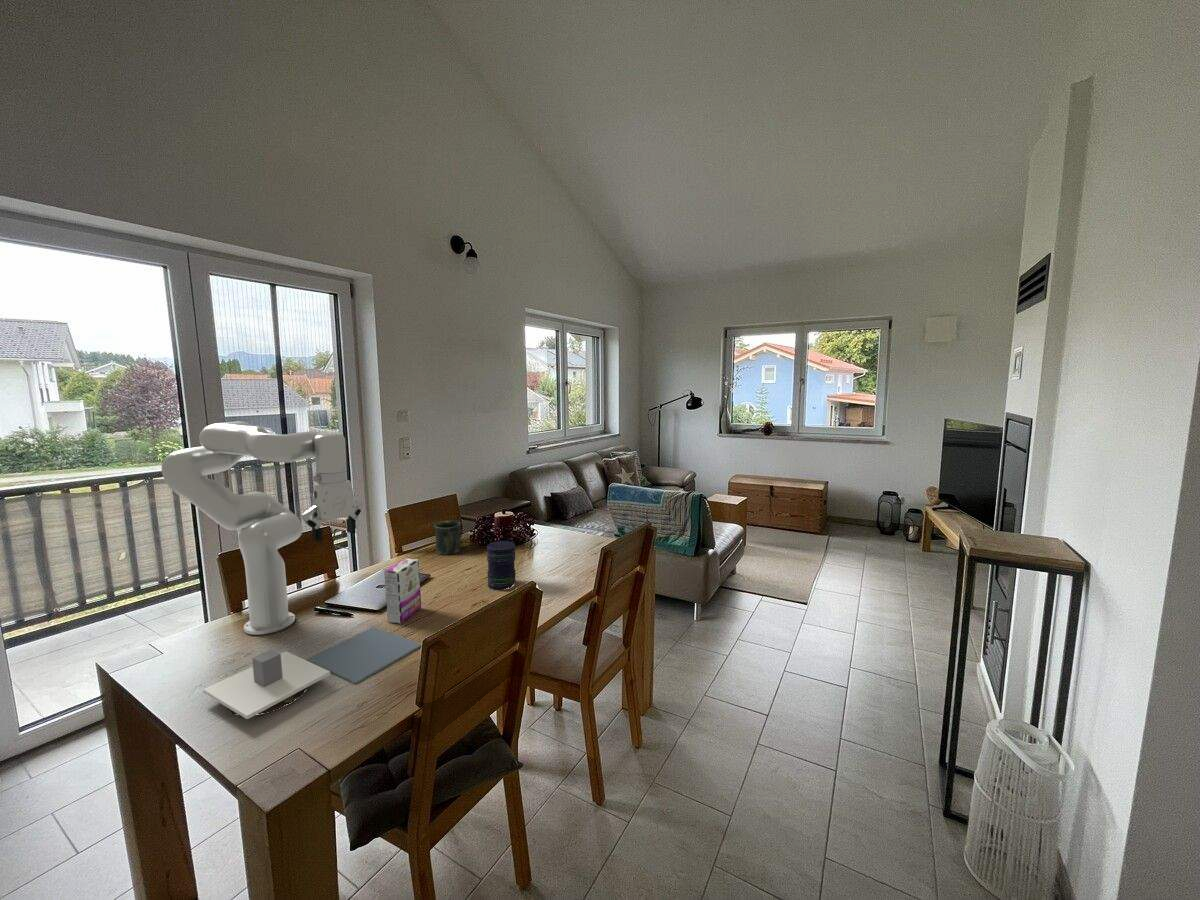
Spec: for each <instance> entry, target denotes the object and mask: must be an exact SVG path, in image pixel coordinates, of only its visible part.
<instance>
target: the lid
mask: <svg viewBox="0 0 1200 900" xmlns="http://www.w3.org/2000/svg"><path fill="white" fill-rule="evenodd" d="M251 661H252V666H250V667H249V668H246V669H244V670H241V671H240V672H238V673H236V674H233V675H231V676H229V677H227V678H225V679H223V680H220V681H218V682H216V683H214V684H212V685H209V686H207V687H205V688H203V689H202V693H203V694H205V695H206V696H208V697H209V698H211V699H212V700H214V701H217V702H218V703H219V704H221V705H223V706H224V707H226V708H227V707H228V708H229V709H231V710H233V711H234V712H236V713H237V714H239V715H241V716H242V717H243V719H246V720H249V719H252V717H256V716H255V715H256V714H258V713H260V712H262V711H264V710H266V709H268V708H269V707H271V706H273V705H275V704H277V703H279V702H281V701H282V700H284V699H286V698H288V697H290V696H292V695H293V694H295V693H297V692H299V691H301V690H303V689H305V688H306V687H308V688H309V687H310V686H312V685H314V684H315V683H317V682H319V681H321V680H322V679H325V678H326V677H328V676H331V673H330V671H328V670H326V669H324V668H322V667H319V666H317V665H315V664H313V663H311V662H309V661H306V659H304V658H302V657H300V656H298V655H296V654H293V653H291V652H289V651H288V650H285V651H283V652H281V653H279V652H277V651H276V650H273V649H269V650H266V651H264V652H262V653H259V654H257V655H255V656H253V657H252V659H251ZM241 716H240V717H241Z"/></svg>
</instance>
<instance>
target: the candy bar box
mask: <svg viewBox="0 0 1200 900" xmlns="http://www.w3.org/2000/svg"><path fill="white" fill-rule="evenodd" d="M420 581H421V580H420V561H419V559H415V558H404V559H402V560H401V561H399V562H398V563H395V564H394V565H393V566H391V567H389V568H388V569H386V570H384V585H385V586H384V587H385V598H386V599H385V600H386V613H387V623H389V624H390V623H391V624H400V625H402V624H403V623H404V622H405V621H407V620H408V619H409V618H410V617H412V616H413V615H414V614H415V613H417V612H418V611H419V610H420V609H421V608H422V596H421V582H420Z"/></svg>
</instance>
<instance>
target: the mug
mask: <svg viewBox="0 0 1200 900" xmlns="http://www.w3.org/2000/svg"><path fill="white" fill-rule="evenodd" d="M433 527H434V529H435V551H436V553H437V554H438V555H441V556H442V555H443V556H447V555H453V554H457V553H459V552H461V550H462V546H461V544H462V543H461V539H462V535H463V526H462V523H461V522H460V521H458V520H443V521H439V522H437V523H435V524H434V525H433Z"/></svg>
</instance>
